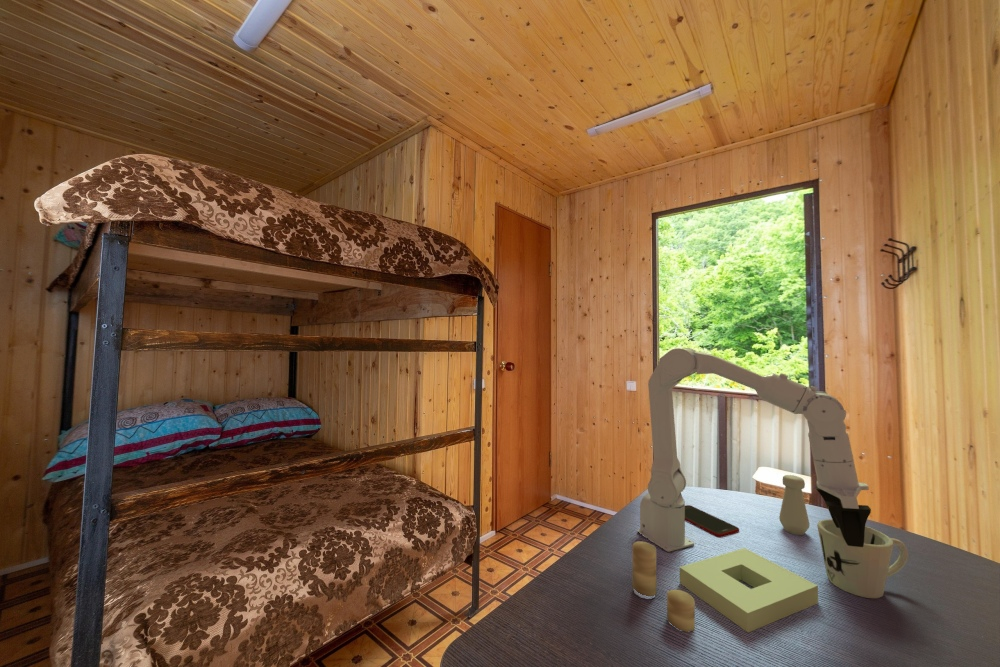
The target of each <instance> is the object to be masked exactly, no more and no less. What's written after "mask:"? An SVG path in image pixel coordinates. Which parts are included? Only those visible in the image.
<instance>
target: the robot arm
mask: <svg viewBox="0 0 1000 667" xmlns="http://www.w3.org/2000/svg"><path fill="white" fill-rule="evenodd" d="M694 374H696V375H708V374H711V375H712V374H713V375H717V376H719V377H722V378H725V379H727V380H730V381H732V382H734V383H736V384H740V385H742V386H744V387H748V388H750V389H752V390H755V392H756V394H757V396H758V398H759V399H760V400H762V401H764V402H766V403H769V404H771V405H774V406H775V407H777V408H781V409H782V410H785V411H788V412H790V413H792V414H794V415H802V416H804V418H805V419H806V422H807V426H808V430H809V432H808V433H807V436H808V442H809V446H810V450H811V456H812V460H813V465H814V470H815V476H816V483H815V484H816V486H815V489H816V490H817V492H818V493H819V494H820V496H821V498H822V499H823V501H824V502H825V506H826V508H827V510H828V512H829V514H830V517H831V519H832V520H833V522H834V524H835V526H836V527H837V528H840V530H841V533H842V535H843V538H844V540H845V542H846V544H847V545H848V546H855V547H863V546H864V534H865V526H866V524H867V521H868V519H869V516H871V514H872V509H871V507H870V506H869V505H863V504H859V503H858V496H859V495H860V493H861V492H862V491H868V490H870V487H869V485H868V484H867V483H865V482H859V479H858V474H857V469H856V465H855V461H854V455H853V451H852V450H853V449H852V447H851V446H852V445H851V442H850V436H849V434H848V433H847V425H846V423H845V422H844V421H845V419H846V416H847V411H846V409H845V408H844V407H843V405H842V403H841V402H840V401H839V400H838V399H837V398H836V397H835V396H833V395H831V394H829V393H827V392H826V391H821V390H819V391H817V390H818V387H817V386H813V385H811V386H807V385H804V384H802V383H799V382H797V381H794V380H791V379H790V378H789V376H788V375H786V374H784V373H782V372H781V373H780V374H779V375H778V374H776V373H768V374H766V375H761V374H759V373H756V372H754V371H751V370H750V369H747V368H744V367H742V366H741V365H738V364H736V363H733V362H731V361H728V360H727V359H724V358H722V357H719V356H717V355H713V354H710V353H707V352H704V351H696V350H695V349H693V348H689V347H684V348H681V347H676V348H672V349H671V350H669V351H667V352H666V353H665V354H664V355H662V356H661V357H660V358H659V359H658V364H657V365H656V367H655V368H654V370H653V372H652V374H651V376H650V377H649V380H648V383H647V385H648V386H647V387H648V400H649V413H650V427H651V428H650V429H651V438H652V440H651V441H652V452H653V454H652V455H653V460H652V464H651V468H650V479H649V481H648V484H647V492H648V493H646V494H645V495H644V496H643V497H642V498H641V500H640V502H639V503H640V504H639V529H637V530H636V532H637V531H638V532H639V533H641V534H642V535H641V534H640V535H641V536H643V535H644V536H645V537H644V536H643V537H644V538H645V539H647V538H648V539H647V540H649V541H650V542H652V543H653V544H655V545H656V546H658V547H659V548H661V549H662V548H663V549H662V550H664V551H665V552H667V553H669V552H673V551H677V550H681V549H685V548H688V547H692V546H695V542H694V541H692V540H690V539H689V538H687V537H686V521H685V506H686V505H685V499H684V497H683V495H682V492H684V490H685V488H686V486H687V479H686V476H685V475H684V473H683V472H682V469H681V463H680V460H679V457H678V452H677V437H676V436H677V435H676V424H675V414H674V413H675V412H674V399H673V389H674V388H675V387H676V386H677V385H678V384H679V383H680V382H681V381H682V380H684V379H685V378H688V377H690V376H692V375H694ZM638 532H637V533H638ZM639 533H638V534H639Z"/></svg>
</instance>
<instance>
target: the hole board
mask: <svg viewBox="0 0 1000 667" xmlns="http://www.w3.org/2000/svg"><path fill="white" fill-rule="evenodd" d="M741 581H742V582H744V583H745V584H747V585H749V586H751V587H752V588H751V587H748V586H747V585H745V584H744V583H742V582H741ZM680 583H681V584H682V585H681V584H680ZM679 584H680V585H681V586H683V587H684V586H685V587H686V588H685V589H687V590H688V591H690V592H691V593H693V594H694V595H695V596H697V597H698V598H699V599H700V600H702V601H703V602H705V603H707V604H708V605H709V606H710V607H711V608H713V609H715V611H718V613H720V614H722V615H723V616H724V617H725V618H727V619H729V620H730V621H731V622H733V624H736V625H737V626H738V627H739V628H740V629H742V630H743V631H745V632H746V633H748V634H749V633H751V632H754V631H755V630H758V629H760V628H762V627H765V626H768V625H770V624H772V623H774V622H777V621H779V620H782V619H785V618H786V617H788V616H791V615H793V614H796V613H798V612H800V611H803V610H806V609H807V608H810V607H812V606H815V605H818V604H819V585H818V584H815V583H813V582H812V581H810V580H807V579H806V578H804V577H802V576H801V575H799V574H797V573H795V572H792V571H790V570H788V569H787V568H784V567H783V566H780V564H777V563H775V562H772V560H769V559H768V558H765V557H764V556H761V555H759V554H757V553H755V552H754V551H751V550H750V549H748V548H746V547H743V548H740V549H736V550H732V551H729V552H727V553H722V554H719V555H715V556H712V557H710V558H706V559H702V560H699V561H695V562H693V563H688V564H686V565H681V566H679Z"/></svg>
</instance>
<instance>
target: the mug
mask: <svg viewBox="0 0 1000 667" xmlns="http://www.w3.org/2000/svg"><path fill="white" fill-rule="evenodd" d="M816 526H817V530H818V536H819V540H820V546H821V547H820V548H821V552H822V557H823V562H824V565H825V571H826V576H827V578H828V580H829V582H831V583H832V584H833V585H834V586H835V587H838V588H839V589H840V590H842V591H845V592H847V593H848V594H849V593H850V594H851V595H854V596H858V597H862V598H867V599H880V598H882V597H884V592H885V588H886V583H887V579H888V578H889V577H892V576H894V575H895V574H897V573H898V572H899V571H901V570H902V569H903V568H904V566H906V564H907V562H908V560H909V554H910V553H909V551H908V548H907V546H906V544H905V543H904V542H903V541H901V539H897V538H893V537H890V536H888V535H887V534H885V533H884V532H881V531H880V530H877V529H874V528H872V527H869V526H866V525H865V534H864V546H863V547H855V546H848V545H847V544H846V542H845V540H844V538H843V535H842V533H841V530H840V528H837V527H836V526H835V524H834V522H833V520H832V518H830V519H827V518H826V519H821V520H818V522H817V525H816ZM894 546H896V547H898V549H899V554H898V557H897V559H896V560H895V561H894V563H892V564H891V558H892V553H893V549H894ZM890 564H891V565H890Z"/></svg>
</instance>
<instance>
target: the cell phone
mask: <svg viewBox="0 0 1000 667" xmlns="http://www.w3.org/2000/svg"><path fill="white" fill-rule="evenodd" d="M685 520H687V521H689V522H690V523H689V522H688V523H689V524H691V523H692V525H693V524H694V525H693V526H695V525H696V527H698V528H699V529H701V530H703V531H705V532H707V533H709V534H711V535H713V536H715V537H718V538H723V537H726V536H730V535H734V534H736V533H737V534H738V533H739V532H740V528H739V527H738V526H736V525H733V524H732V523H729V522H727V521H725V520H723V519H721V518H718V517H717V516H714V515H712V514H710V513H708V512H705V511H703V510H701V509H699V508H697V507H695V506H692V505H690V504H689V505H687V504H686V505H685ZM687 521H686V522H687Z"/></svg>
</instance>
